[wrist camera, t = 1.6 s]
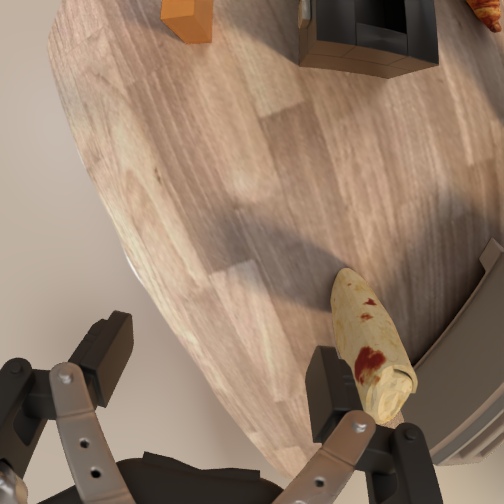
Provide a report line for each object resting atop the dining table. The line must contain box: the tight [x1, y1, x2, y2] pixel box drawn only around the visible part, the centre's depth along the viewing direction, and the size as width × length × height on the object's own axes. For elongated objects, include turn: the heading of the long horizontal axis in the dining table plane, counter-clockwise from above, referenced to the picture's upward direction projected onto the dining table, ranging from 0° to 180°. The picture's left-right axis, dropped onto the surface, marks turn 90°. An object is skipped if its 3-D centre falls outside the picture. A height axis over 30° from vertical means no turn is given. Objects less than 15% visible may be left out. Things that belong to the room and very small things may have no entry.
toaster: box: [400, 237, 504, 466], centre depth 34 cm, size 19×35×20 cm, turn 154°
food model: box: [330, 268, 418, 424], centre depth 32 cm, size 10×7×20 cm
